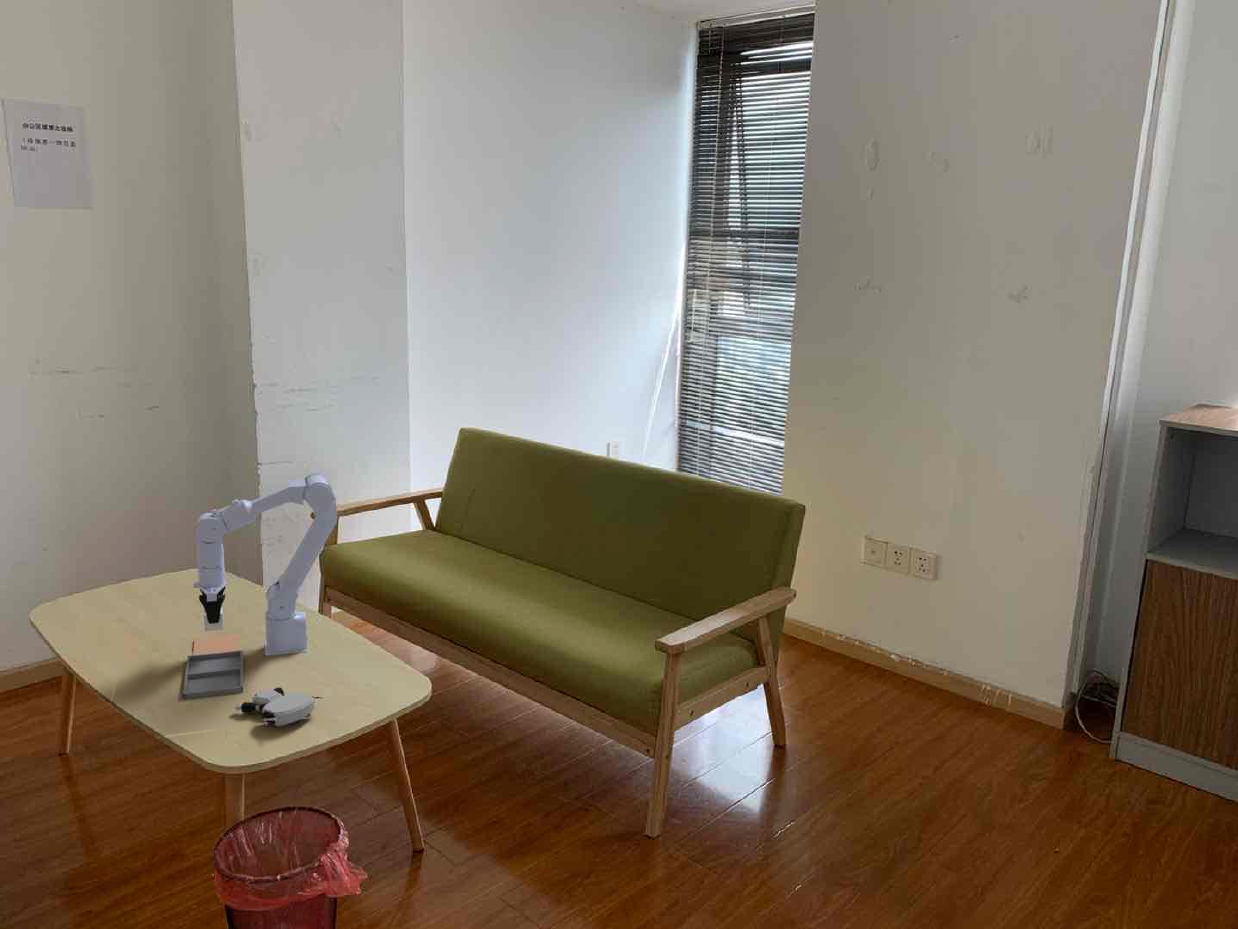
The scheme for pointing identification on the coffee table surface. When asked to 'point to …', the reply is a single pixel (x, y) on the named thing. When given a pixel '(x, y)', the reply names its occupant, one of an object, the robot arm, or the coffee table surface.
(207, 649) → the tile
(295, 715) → the robot toy
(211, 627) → the letter cube
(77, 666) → the coffee table surface
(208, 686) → the sorting tray
